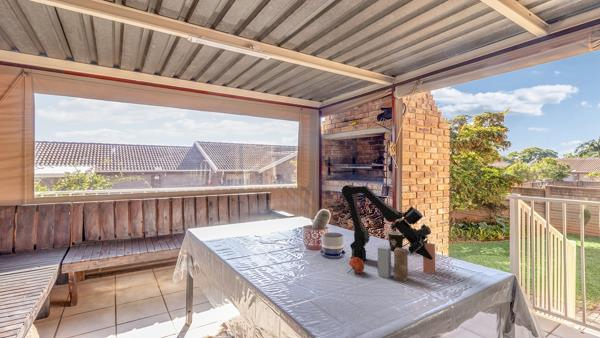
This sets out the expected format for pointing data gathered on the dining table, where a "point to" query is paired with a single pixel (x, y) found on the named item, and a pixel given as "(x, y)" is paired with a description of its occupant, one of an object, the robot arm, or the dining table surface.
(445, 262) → the dining table surface
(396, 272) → the walnut block
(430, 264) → the rust block
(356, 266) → the pomegranate
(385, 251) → the slate block
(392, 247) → the coffee mug
